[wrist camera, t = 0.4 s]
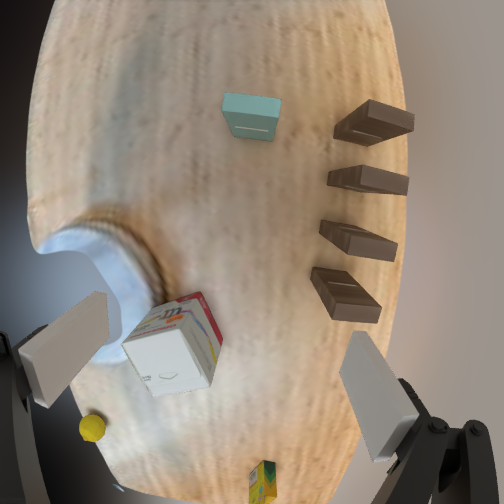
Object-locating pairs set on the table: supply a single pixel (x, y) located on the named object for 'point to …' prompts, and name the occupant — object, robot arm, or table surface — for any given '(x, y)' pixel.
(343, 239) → the domino
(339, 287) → the domino
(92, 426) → the fruit
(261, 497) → the crayon box
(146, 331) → the ink box
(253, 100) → the domino
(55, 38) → the table surface
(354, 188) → the domino
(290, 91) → the table surface
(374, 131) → the domino
